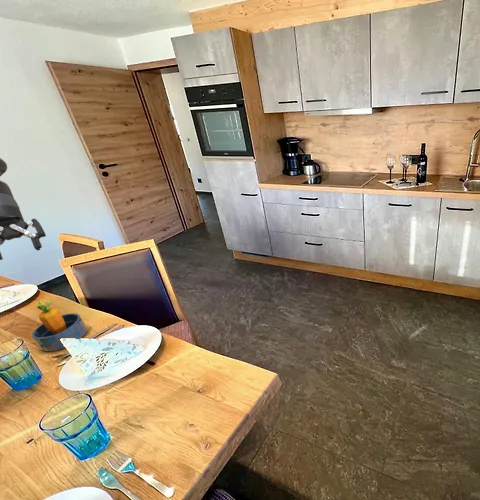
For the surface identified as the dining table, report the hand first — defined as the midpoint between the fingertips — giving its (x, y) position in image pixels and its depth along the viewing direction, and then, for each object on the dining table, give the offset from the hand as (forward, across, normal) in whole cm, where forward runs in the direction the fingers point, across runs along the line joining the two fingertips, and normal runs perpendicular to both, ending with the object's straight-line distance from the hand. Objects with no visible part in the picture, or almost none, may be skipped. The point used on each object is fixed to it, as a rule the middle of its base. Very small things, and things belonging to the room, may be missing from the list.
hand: (19, 254), depth 90 cm
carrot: (+27, -1, +14) cm, 30 cm away
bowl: (+27, 0, +15) cm, 31 cm away
